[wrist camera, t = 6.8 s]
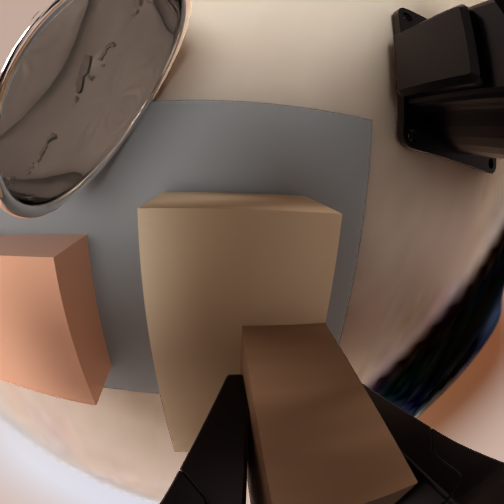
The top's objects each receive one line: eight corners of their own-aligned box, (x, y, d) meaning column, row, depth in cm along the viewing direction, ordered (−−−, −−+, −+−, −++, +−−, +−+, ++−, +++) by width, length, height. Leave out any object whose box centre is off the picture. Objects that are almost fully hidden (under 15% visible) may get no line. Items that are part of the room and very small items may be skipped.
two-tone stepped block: (305, 196, 9) (524, 324, 2) (279, 397, 12) (322, 553, 4) (162, 191, 9) (-28, 343, 1) (179, 399, 11) (170, 563, 4)
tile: (87, 234, 9) (53, 257, 7) (111, 366, 11) (96, 405, 9) (-16, 235, 8) (-51, 253, 6) (15, 348, 10) (-7, 376, 8)
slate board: (367, 120, 9) (422, 112, 6) (324, 384, 13) (346, 433, 10) (-81, 162, 6) (-117, 171, 3) (-46, 342, 10) (-69, 368, 7)
